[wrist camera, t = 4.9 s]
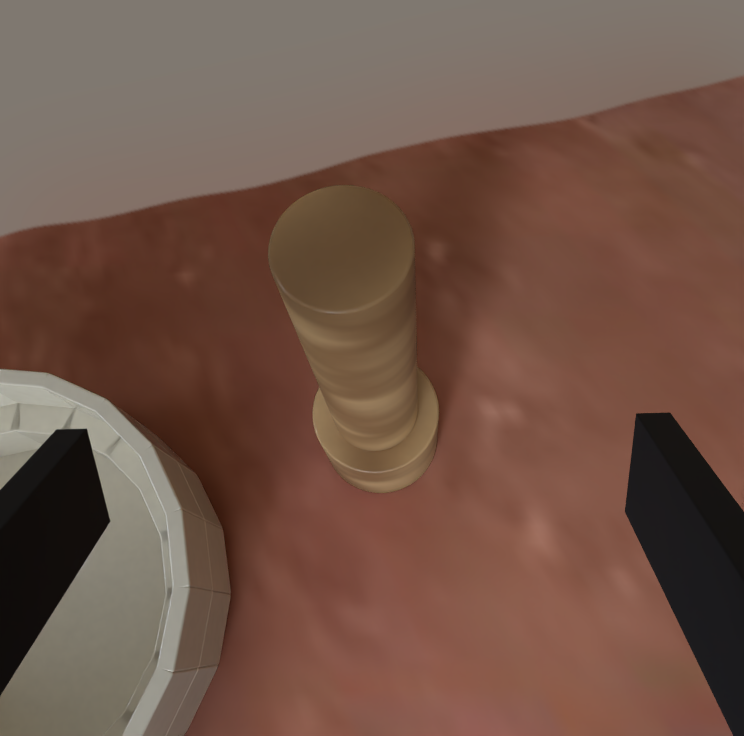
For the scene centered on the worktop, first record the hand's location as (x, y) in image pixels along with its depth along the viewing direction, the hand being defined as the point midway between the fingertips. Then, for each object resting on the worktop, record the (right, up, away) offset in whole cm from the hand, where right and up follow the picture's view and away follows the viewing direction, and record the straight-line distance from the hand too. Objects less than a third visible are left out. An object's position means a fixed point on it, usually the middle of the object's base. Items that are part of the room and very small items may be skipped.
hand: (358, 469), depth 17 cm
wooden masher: (+1, -1, +13) cm, 13 cm away
